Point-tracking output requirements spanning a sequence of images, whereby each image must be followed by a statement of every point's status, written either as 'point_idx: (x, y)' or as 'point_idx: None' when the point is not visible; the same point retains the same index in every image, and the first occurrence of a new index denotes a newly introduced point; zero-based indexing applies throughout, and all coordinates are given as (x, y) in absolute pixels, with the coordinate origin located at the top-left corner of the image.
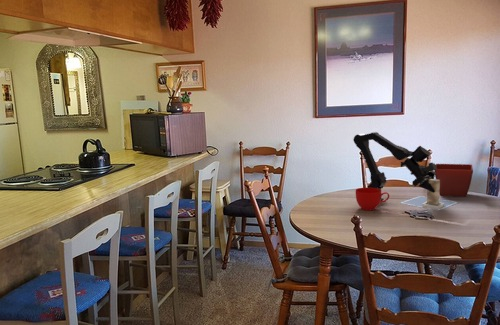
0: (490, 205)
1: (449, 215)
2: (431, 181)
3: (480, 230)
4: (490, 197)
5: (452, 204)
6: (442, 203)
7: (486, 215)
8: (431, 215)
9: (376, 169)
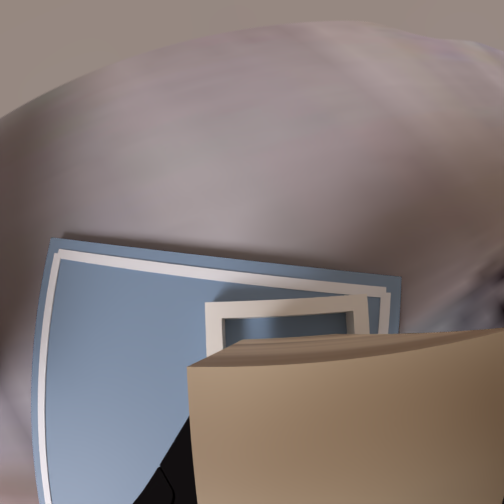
0: (32, 113)
1: (401, 195)
2: (493, 476)
3: (475, 59)
4: None
5: (131, 259)
6: (234, 308)
7: (248, 52)
8: (472, 289)
9: None
